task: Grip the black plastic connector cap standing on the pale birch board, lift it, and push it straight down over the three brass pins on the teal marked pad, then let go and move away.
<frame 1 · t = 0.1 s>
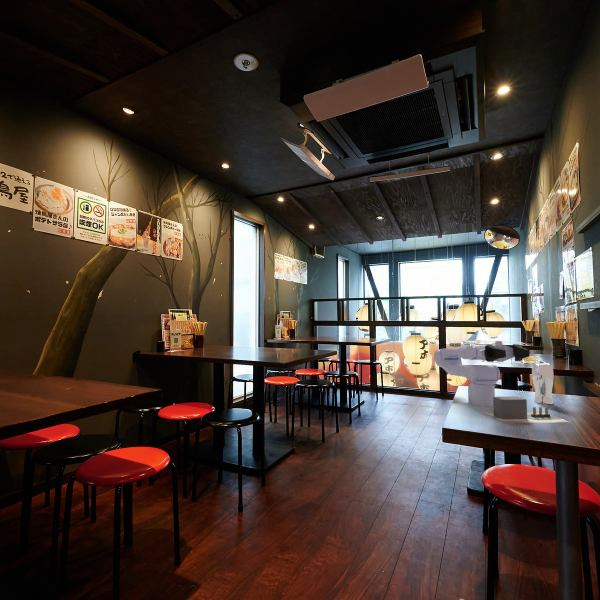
hand: (516, 353, 112), 22 cm above the table, tool horizontal, fingers open, 7 cm apart
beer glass: (543, 403, 138), on the table
connector cap: (510, 417, 112), point 1 cm above the table, touching header board
header board: (525, 421, 112), on the table
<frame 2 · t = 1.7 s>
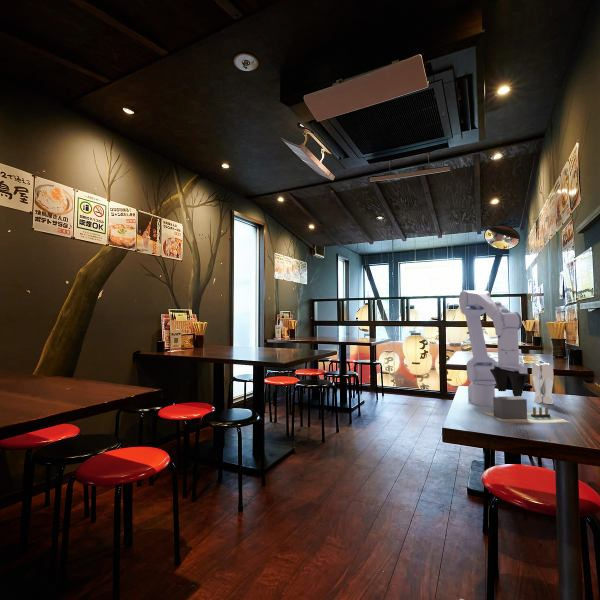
hand: (509, 393, 112), 9 cm above the table, tool pointing down, fingers open, 7 cm apart
nothing on the table moved.
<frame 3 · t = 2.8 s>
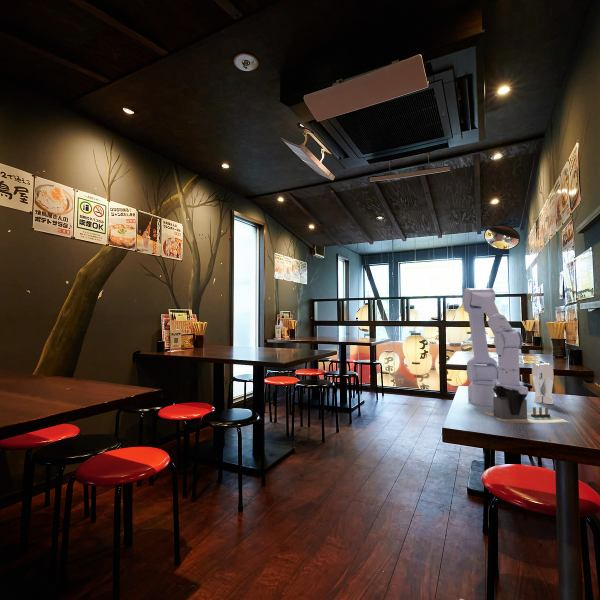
hand: (510, 412, 112), 3 cm above the table, tool pointing down, fingers closed on connector cap, 4 cm apart
connector cap: (510, 417, 112), point 1 cm above the table, touching gripper, header board
everything else where it was.
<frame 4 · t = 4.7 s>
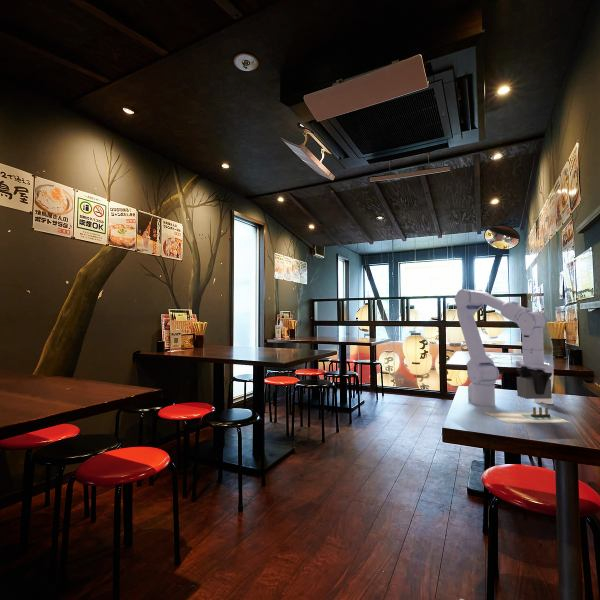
hand: (534, 392, 113), 9 cm above the table, tool pointing down, fingers closed on connector cap, 4 cm apart
connector cap: (534, 397, 113), point 8 cm above the table, touching gripper
everything else where it was.
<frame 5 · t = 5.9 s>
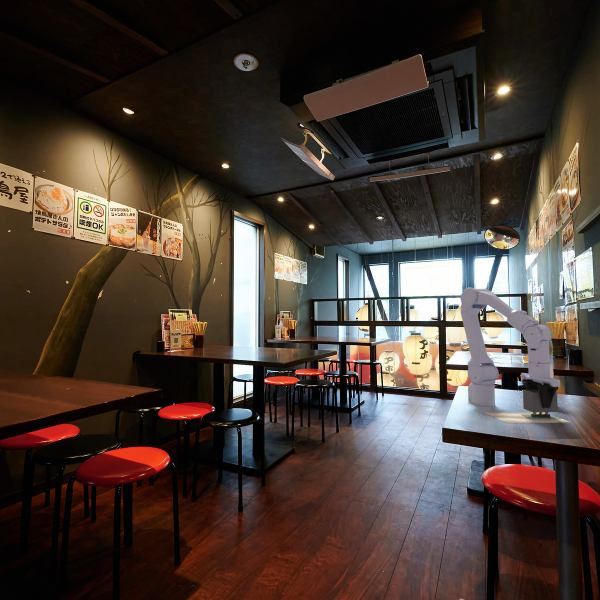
hand: (540, 405, 113), 5 cm above the table, tool pointing down, fingers closed on connector cap, 4 cm apart
connector cap: (540, 410, 113), point 4 cm above the table, touching gripper
everything else where it was.
when the fingers open (3 cm above the table, at t = 6.6 s): connector cap stays where it is, resting on header board.
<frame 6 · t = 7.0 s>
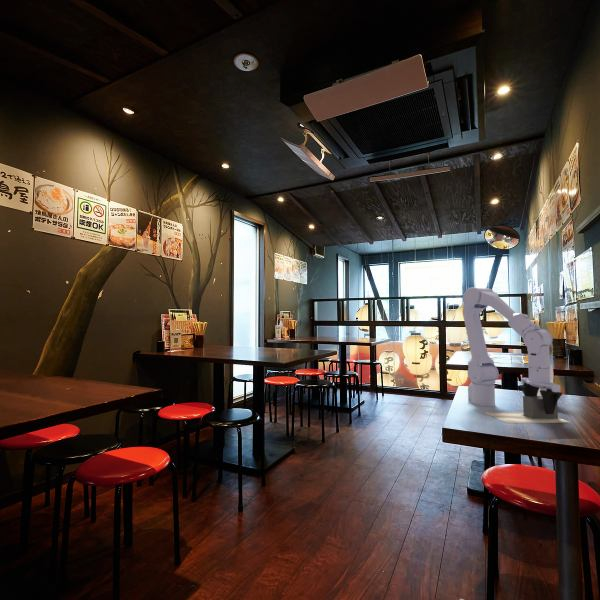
hand: (540, 410, 113), 3 cm above the table, tool pointing down, fingers open, 7 cm apart
connector cap: (540, 416, 112), point 2 cm above the table, touching header board
everything else where it was.
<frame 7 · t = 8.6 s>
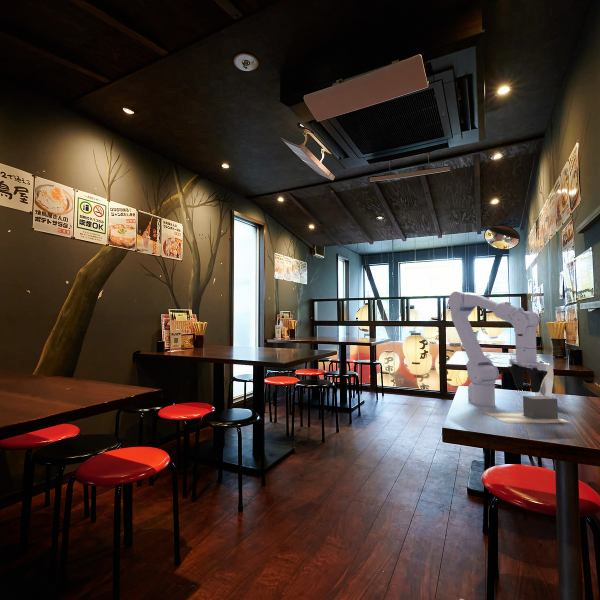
hand: (527, 389, 116), 9 cm above the table, tool pointing down, fingers open, 7 cm apart
nothing on the table moved.
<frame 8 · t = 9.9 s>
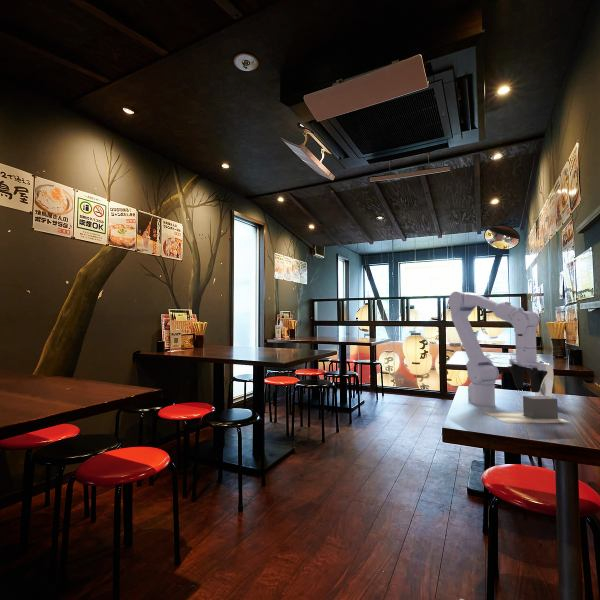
hand: (527, 389, 116), 9 cm above the table, tool pointing down, fingers open, 7 cm apart
nothing on the table moved.
at the end: connector cap 0.1 cm from the target spot on the header board, point 1.6 cm above the header board's base; connector cap tilted 0°; the gripper is holding nothing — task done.
